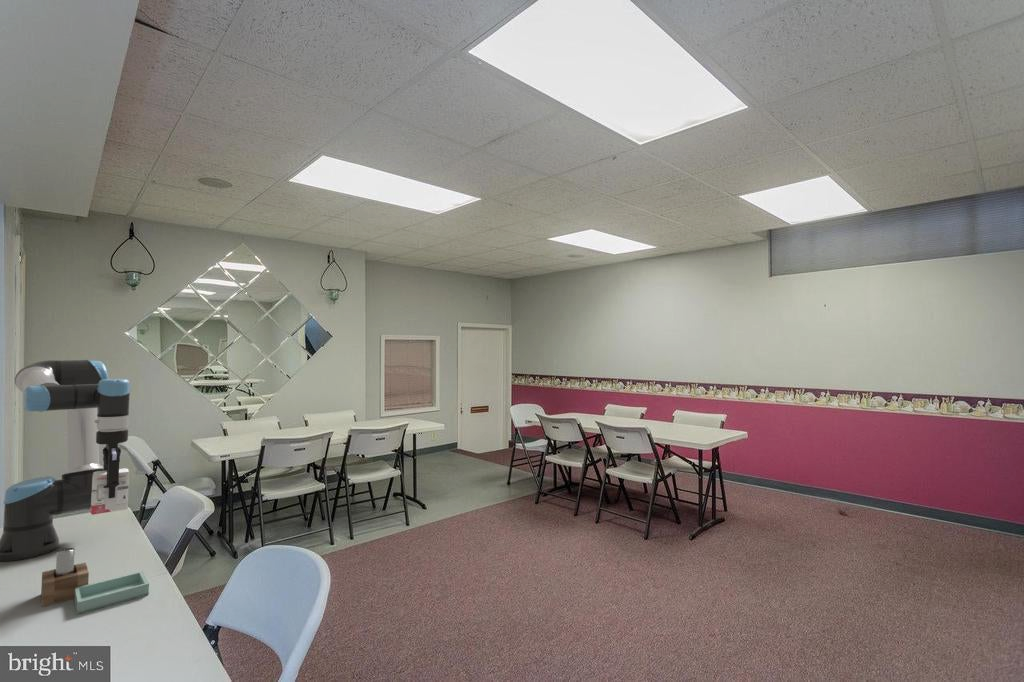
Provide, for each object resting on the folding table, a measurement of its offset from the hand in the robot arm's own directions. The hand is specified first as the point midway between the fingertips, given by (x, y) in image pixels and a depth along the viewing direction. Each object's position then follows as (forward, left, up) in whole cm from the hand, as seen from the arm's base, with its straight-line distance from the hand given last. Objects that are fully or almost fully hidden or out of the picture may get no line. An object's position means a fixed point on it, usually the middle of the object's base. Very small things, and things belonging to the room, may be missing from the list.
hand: (109, 505), depth 147 cm
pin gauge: (+10, -10, -20) cm, 24 cm away
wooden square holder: (+10, -10, -20) cm, 24 cm away
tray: (+21, -1, -20) cm, 29 cm away
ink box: (0, 0, -2) cm, 2 cm away
